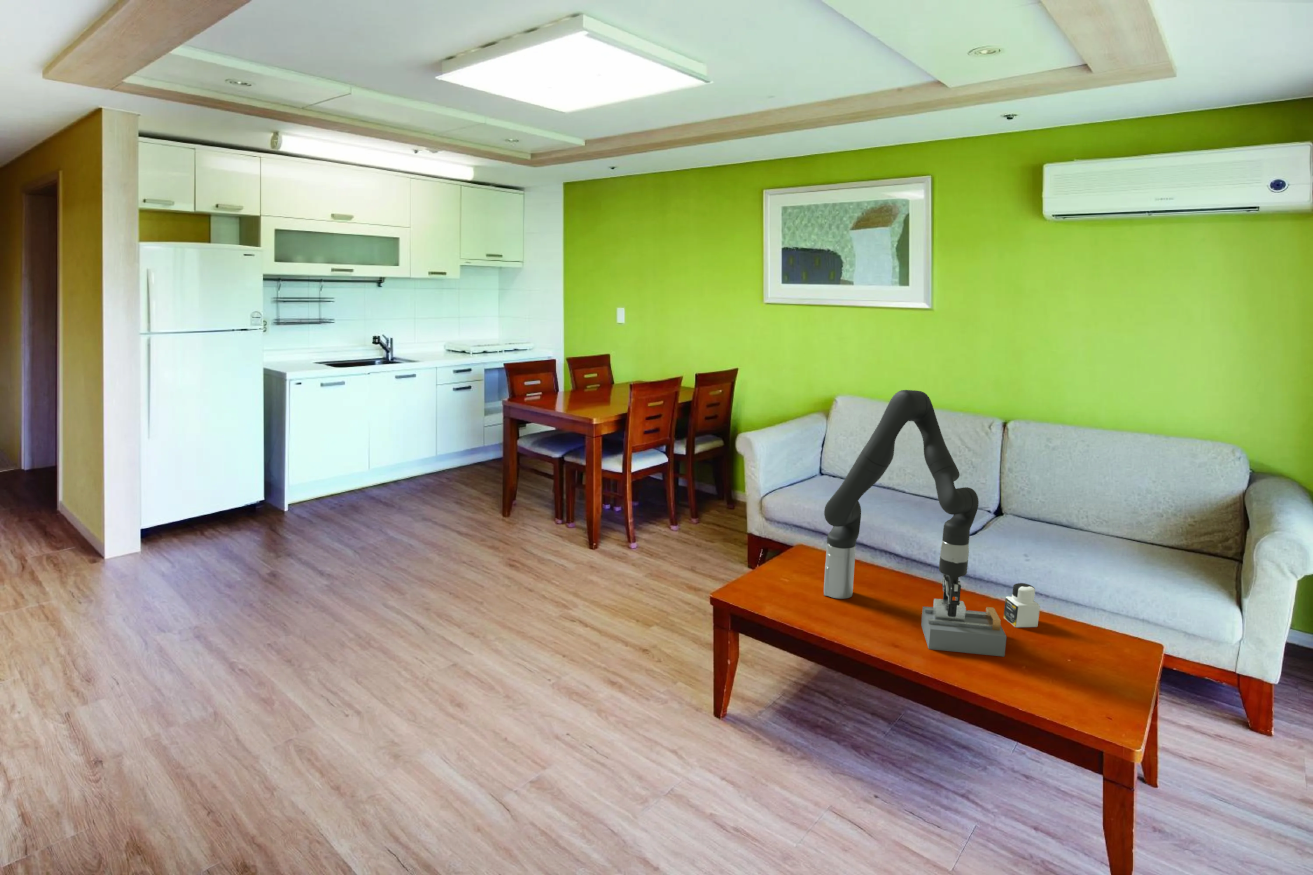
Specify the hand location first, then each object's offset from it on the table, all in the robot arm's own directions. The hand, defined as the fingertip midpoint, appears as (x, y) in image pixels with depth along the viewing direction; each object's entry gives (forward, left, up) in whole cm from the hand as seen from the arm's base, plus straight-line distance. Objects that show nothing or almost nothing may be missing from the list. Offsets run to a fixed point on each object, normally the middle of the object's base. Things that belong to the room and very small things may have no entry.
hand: (949, 610), depth 222 cm
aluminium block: (0, 0, -3) cm, 3 cm away
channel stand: (+4, 0, -9) cm, 10 cm away
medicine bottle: (+24, +17, -9) cm, 31 cm away
